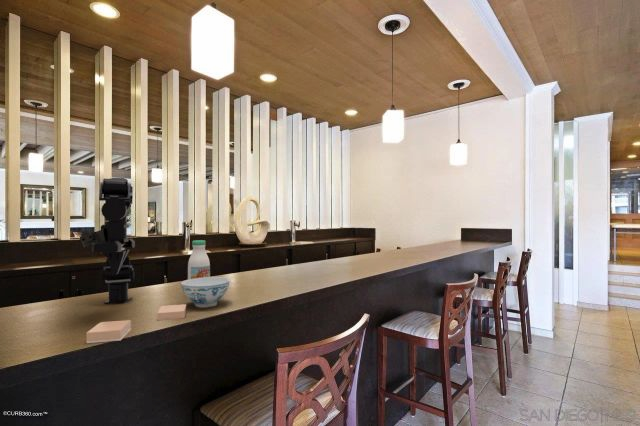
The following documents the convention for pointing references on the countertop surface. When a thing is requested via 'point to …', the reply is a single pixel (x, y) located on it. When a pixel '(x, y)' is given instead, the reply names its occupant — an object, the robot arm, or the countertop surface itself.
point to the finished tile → (171, 312)
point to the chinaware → (205, 290)
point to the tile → (108, 331)
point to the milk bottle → (198, 261)
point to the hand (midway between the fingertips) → (115, 274)
